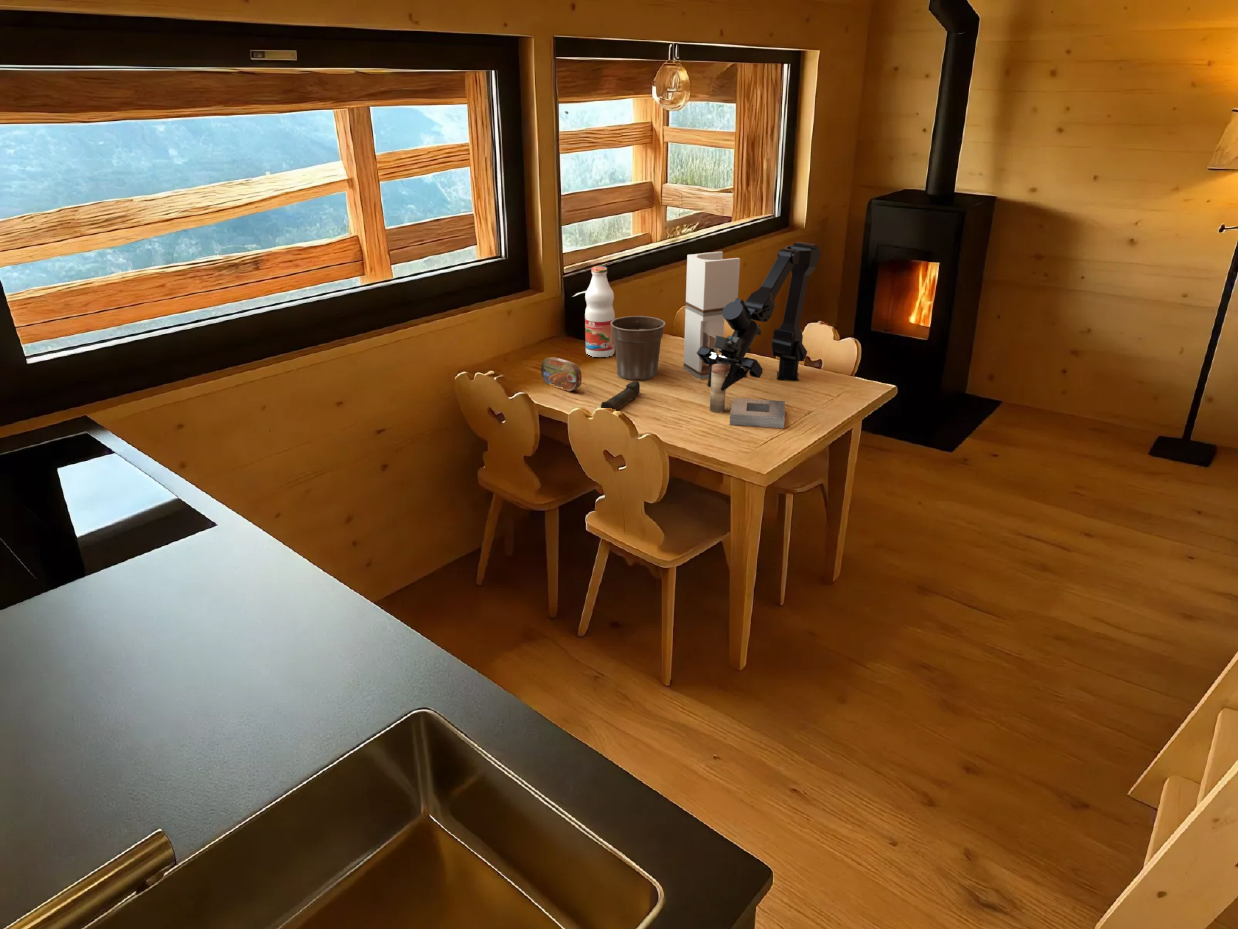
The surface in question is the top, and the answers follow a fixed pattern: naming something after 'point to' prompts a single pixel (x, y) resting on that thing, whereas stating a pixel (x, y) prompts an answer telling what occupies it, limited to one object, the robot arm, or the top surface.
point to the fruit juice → (599, 315)
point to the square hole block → (757, 413)
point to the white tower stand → (707, 305)
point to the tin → (561, 373)
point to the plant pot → (637, 346)
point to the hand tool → (623, 396)
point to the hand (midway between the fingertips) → (715, 388)
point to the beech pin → (717, 388)
